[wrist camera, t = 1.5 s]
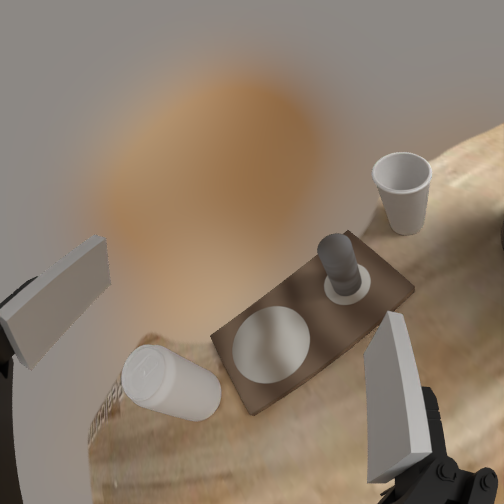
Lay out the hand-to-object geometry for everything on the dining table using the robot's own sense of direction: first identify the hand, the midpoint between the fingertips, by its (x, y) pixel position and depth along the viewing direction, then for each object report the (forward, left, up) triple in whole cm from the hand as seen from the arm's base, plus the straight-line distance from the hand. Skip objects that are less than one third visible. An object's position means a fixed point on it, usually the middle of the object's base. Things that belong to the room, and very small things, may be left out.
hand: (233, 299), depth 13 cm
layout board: (-3, -11, -26) cm, 28 cm away
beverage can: (+16, -11, -26) cm, 33 cm away
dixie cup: (-24, -13, -26) cm, 38 cm away
